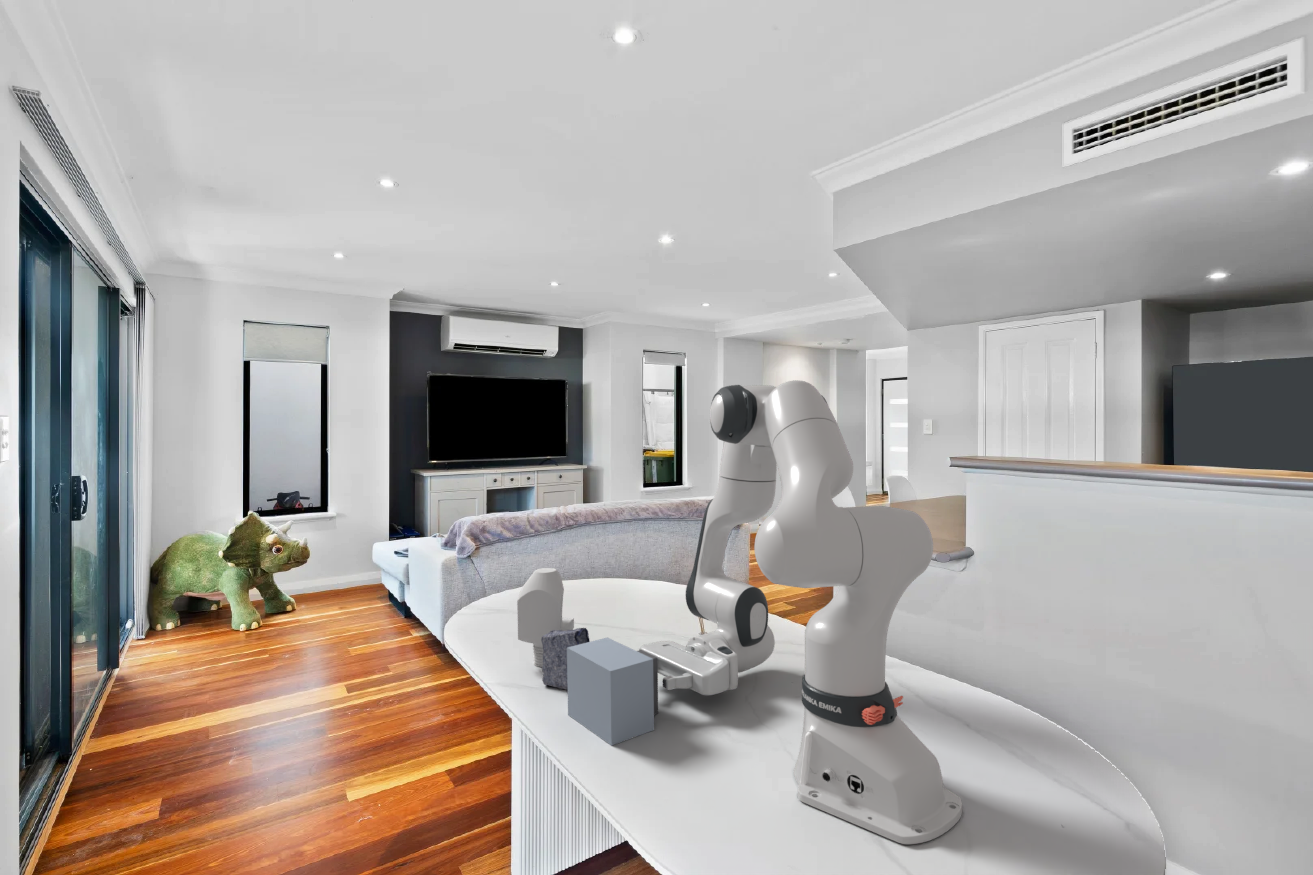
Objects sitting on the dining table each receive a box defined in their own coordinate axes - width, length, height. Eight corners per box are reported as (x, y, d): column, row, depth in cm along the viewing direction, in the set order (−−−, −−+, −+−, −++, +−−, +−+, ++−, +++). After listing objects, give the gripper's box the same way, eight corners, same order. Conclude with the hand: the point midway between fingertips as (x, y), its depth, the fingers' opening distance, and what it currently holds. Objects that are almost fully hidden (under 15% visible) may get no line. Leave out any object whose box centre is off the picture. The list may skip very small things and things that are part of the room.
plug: (658, 713, 115) (658, 657, 115) (620, 726, 110) (619, 668, 110) (642, 703, 119) (641, 649, 119) (604, 716, 114) (603, 659, 114)
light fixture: (561, 671, 135) (559, 575, 134) (518, 669, 136) (516, 574, 136) (574, 655, 144) (572, 565, 144) (534, 653, 146) (532, 564, 145)
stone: (602, 686, 131) (584, 690, 122) (556, 691, 133) (536, 696, 124) (596, 625, 135) (578, 624, 126) (552, 631, 137) (531, 631, 128)
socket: (655, 729, 109) (654, 658, 109) (611, 745, 104) (610, 671, 103) (609, 701, 120) (608, 636, 120) (568, 714, 115) (566, 647, 115)
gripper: (671, 628, 133) (616, 643, 125) (743, 656, 117) (684, 675, 109) (672, 659, 134) (616, 675, 125) (743, 691, 117) (684, 712, 109)
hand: (648, 676), depth 117 cm, fingers open, 8 cm apart
